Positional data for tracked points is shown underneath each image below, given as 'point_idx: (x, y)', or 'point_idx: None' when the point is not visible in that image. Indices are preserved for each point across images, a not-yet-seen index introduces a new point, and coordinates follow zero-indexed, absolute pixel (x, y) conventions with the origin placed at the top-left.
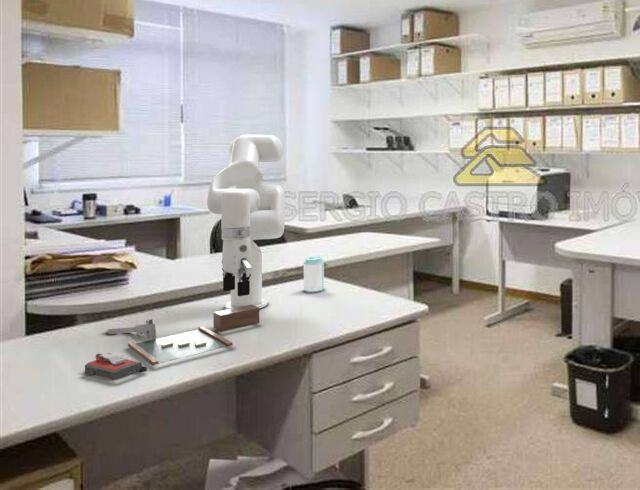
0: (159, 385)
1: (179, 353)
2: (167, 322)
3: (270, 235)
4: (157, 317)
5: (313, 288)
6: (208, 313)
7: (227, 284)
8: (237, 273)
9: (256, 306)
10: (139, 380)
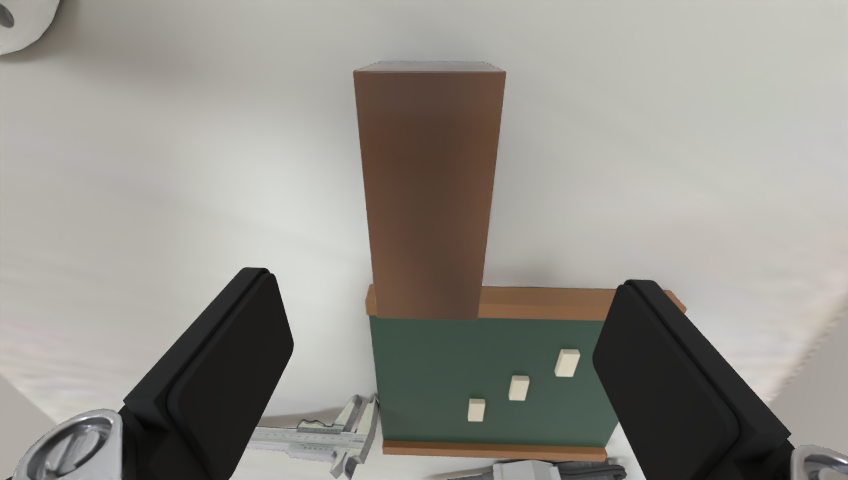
0: None
1: (582, 409)
2: (137, 315)
3: None
4: (38, 317)
5: None
6: (31, 158)
7: (263, 379)
8: None
9: (454, 73)
10: (629, 464)
